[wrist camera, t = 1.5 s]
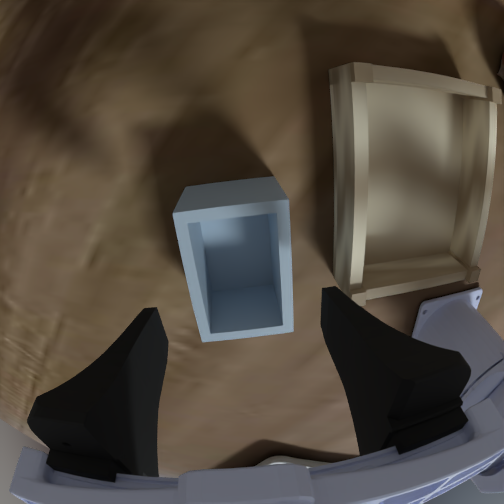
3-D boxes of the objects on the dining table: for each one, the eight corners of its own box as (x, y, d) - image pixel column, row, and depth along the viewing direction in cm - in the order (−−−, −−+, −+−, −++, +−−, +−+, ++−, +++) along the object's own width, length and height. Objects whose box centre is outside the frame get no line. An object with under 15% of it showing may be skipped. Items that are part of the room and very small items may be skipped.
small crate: (280, 286, 22) (293, 331, 18) (206, 294, 22) (202, 342, 18) (273, 175, 19) (288, 199, 14) (185, 186, 18) (172, 213, 14)
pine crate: (450, 256, 22) (477, 280, 18) (332, 274, 22) (350, 307, 18) (464, 86, 16) (501, 89, 12) (328, 69, 15) (353, 61, 12)
